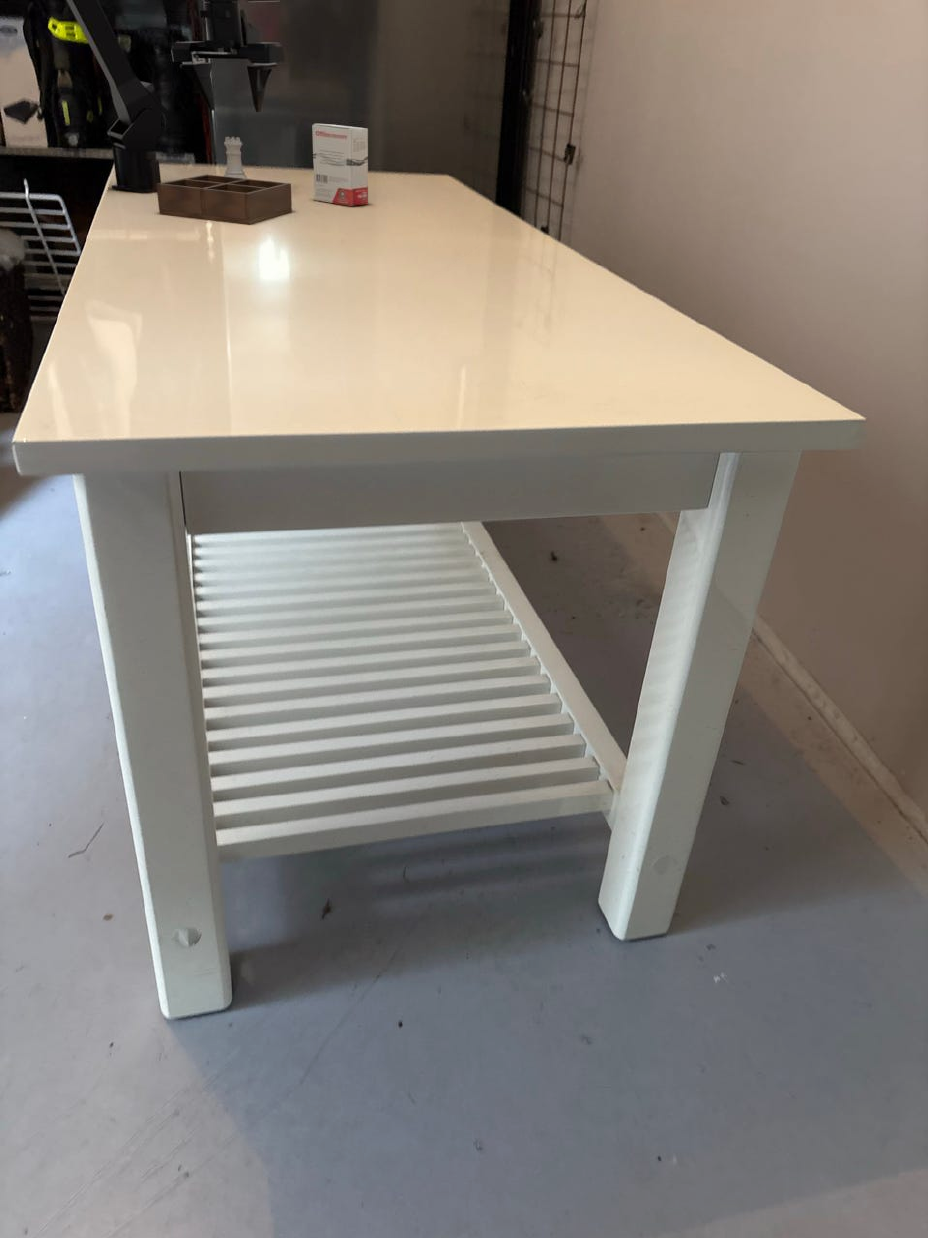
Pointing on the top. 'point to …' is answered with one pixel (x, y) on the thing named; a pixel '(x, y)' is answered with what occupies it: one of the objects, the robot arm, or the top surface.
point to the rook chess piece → (234, 158)
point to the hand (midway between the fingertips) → (235, 110)
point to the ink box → (340, 164)
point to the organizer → (224, 198)
